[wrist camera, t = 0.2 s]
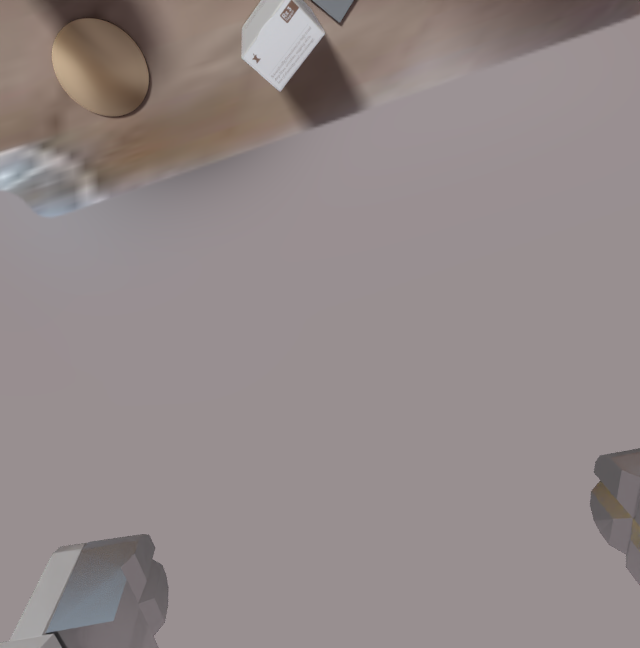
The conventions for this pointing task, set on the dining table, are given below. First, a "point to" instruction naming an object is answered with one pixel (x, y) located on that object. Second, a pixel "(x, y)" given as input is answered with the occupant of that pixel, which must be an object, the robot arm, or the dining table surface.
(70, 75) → the cork coaster
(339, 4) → the felt mat
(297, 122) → the dining table surface
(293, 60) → the skincare box
